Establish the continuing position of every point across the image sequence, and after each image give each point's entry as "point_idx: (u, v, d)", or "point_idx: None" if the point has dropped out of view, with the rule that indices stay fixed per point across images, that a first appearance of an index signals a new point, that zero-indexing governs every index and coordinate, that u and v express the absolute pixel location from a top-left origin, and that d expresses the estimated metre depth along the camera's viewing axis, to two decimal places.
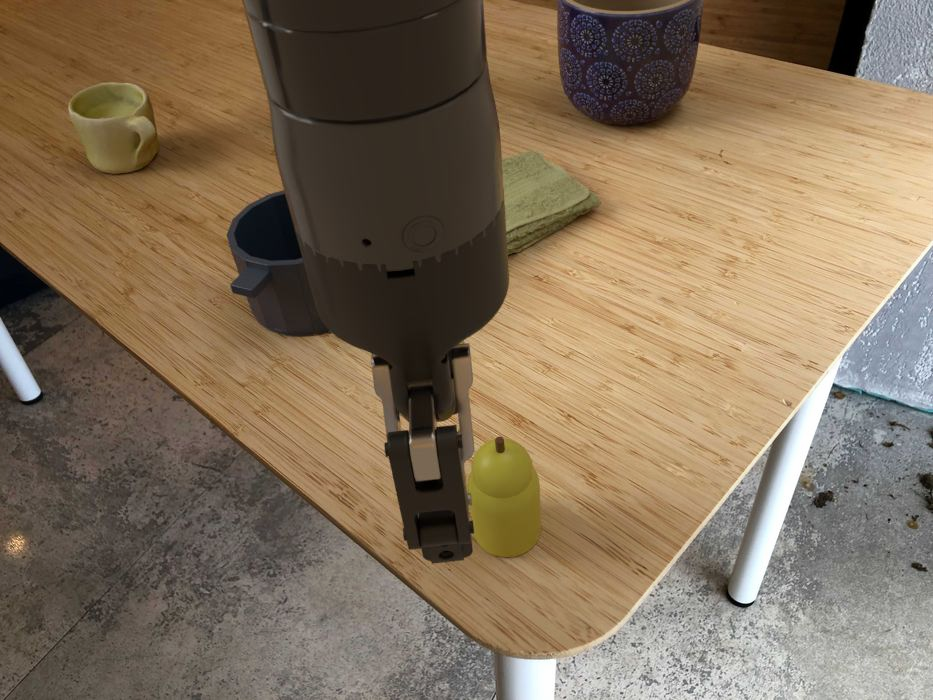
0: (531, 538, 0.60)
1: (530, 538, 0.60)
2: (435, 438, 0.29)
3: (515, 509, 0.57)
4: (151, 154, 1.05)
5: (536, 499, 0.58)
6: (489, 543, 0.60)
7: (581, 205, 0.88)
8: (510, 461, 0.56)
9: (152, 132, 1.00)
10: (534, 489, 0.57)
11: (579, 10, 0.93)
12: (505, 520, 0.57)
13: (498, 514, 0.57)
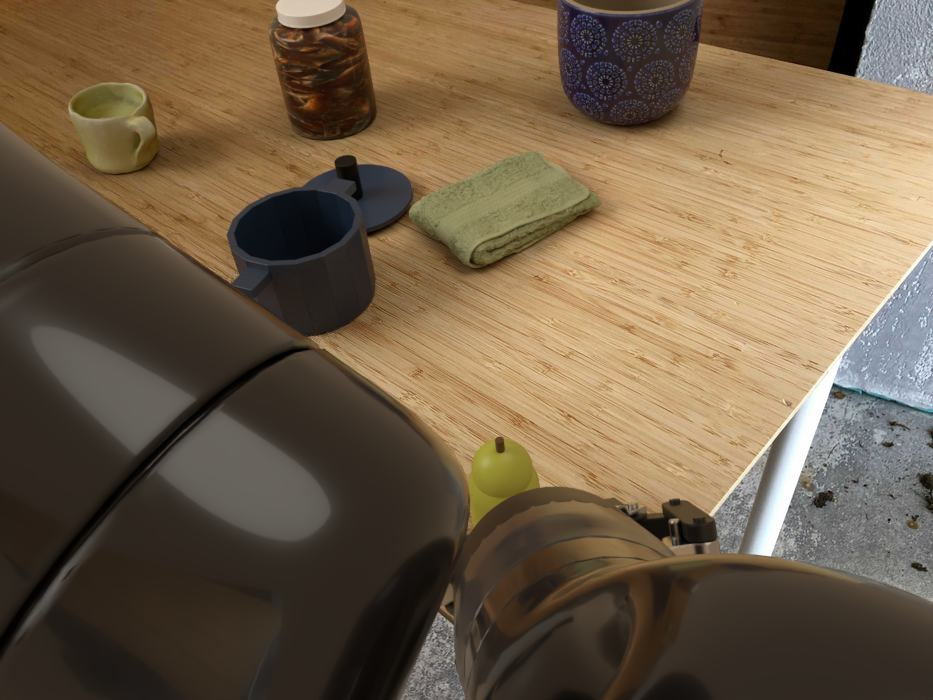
0: None
1: None
2: None
3: None
4: (151, 154, 1.05)
5: None
6: None
7: (581, 205, 0.88)
8: (510, 461, 0.56)
9: (152, 132, 1.00)
10: None
11: (579, 10, 0.93)
12: None
13: None
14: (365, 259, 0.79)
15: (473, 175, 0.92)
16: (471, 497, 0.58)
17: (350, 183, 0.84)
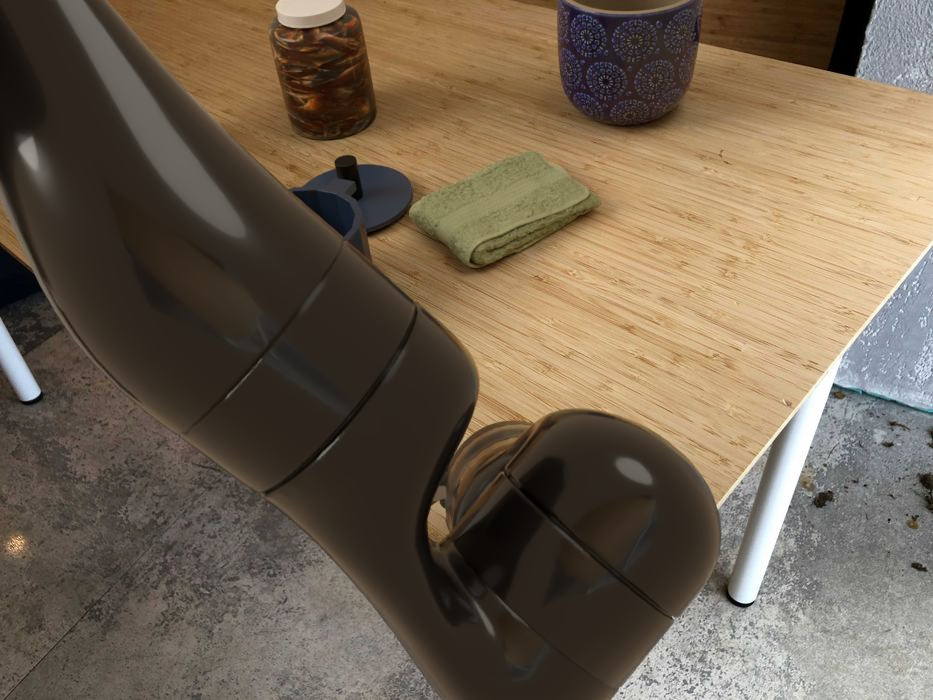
0: None
1: None
2: None
3: None
4: None
5: None
6: None
7: (581, 205, 0.88)
8: None
9: None
10: None
11: (579, 10, 0.93)
12: None
13: None
14: None
15: (473, 175, 0.92)
16: None
17: (350, 183, 0.84)
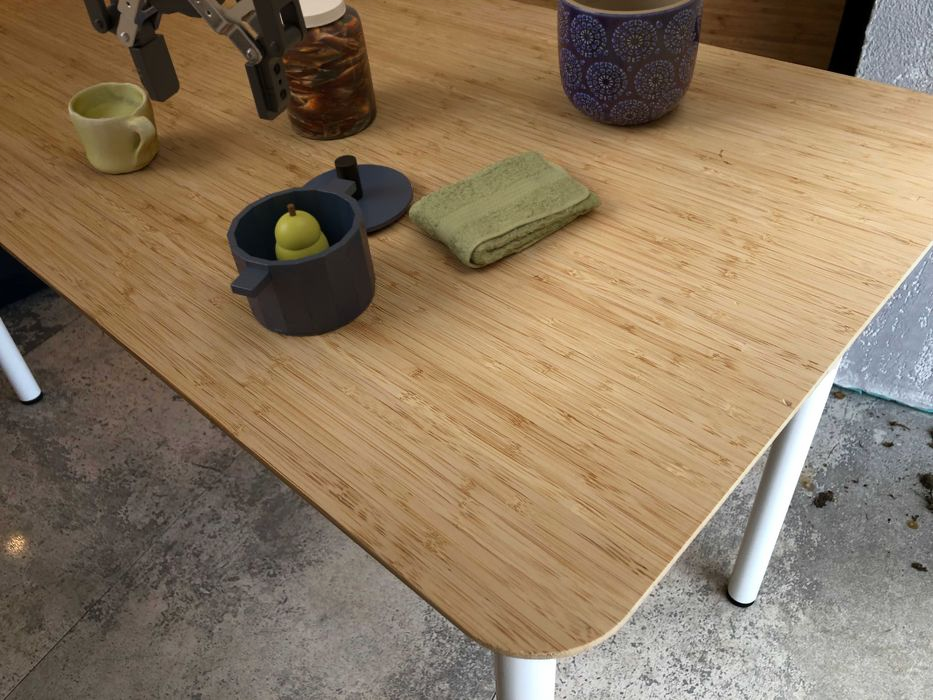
0: None
1: None
2: None
3: None
4: (151, 154, 1.05)
5: None
6: None
7: (581, 205, 0.88)
8: (299, 221, 0.77)
9: (152, 132, 1.00)
10: (321, 247, 0.79)
11: (579, 10, 0.93)
12: None
13: None
14: (365, 259, 0.79)
15: (473, 175, 0.92)
16: (276, 255, 0.79)
17: (350, 183, 0.84)
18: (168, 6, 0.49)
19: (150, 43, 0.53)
